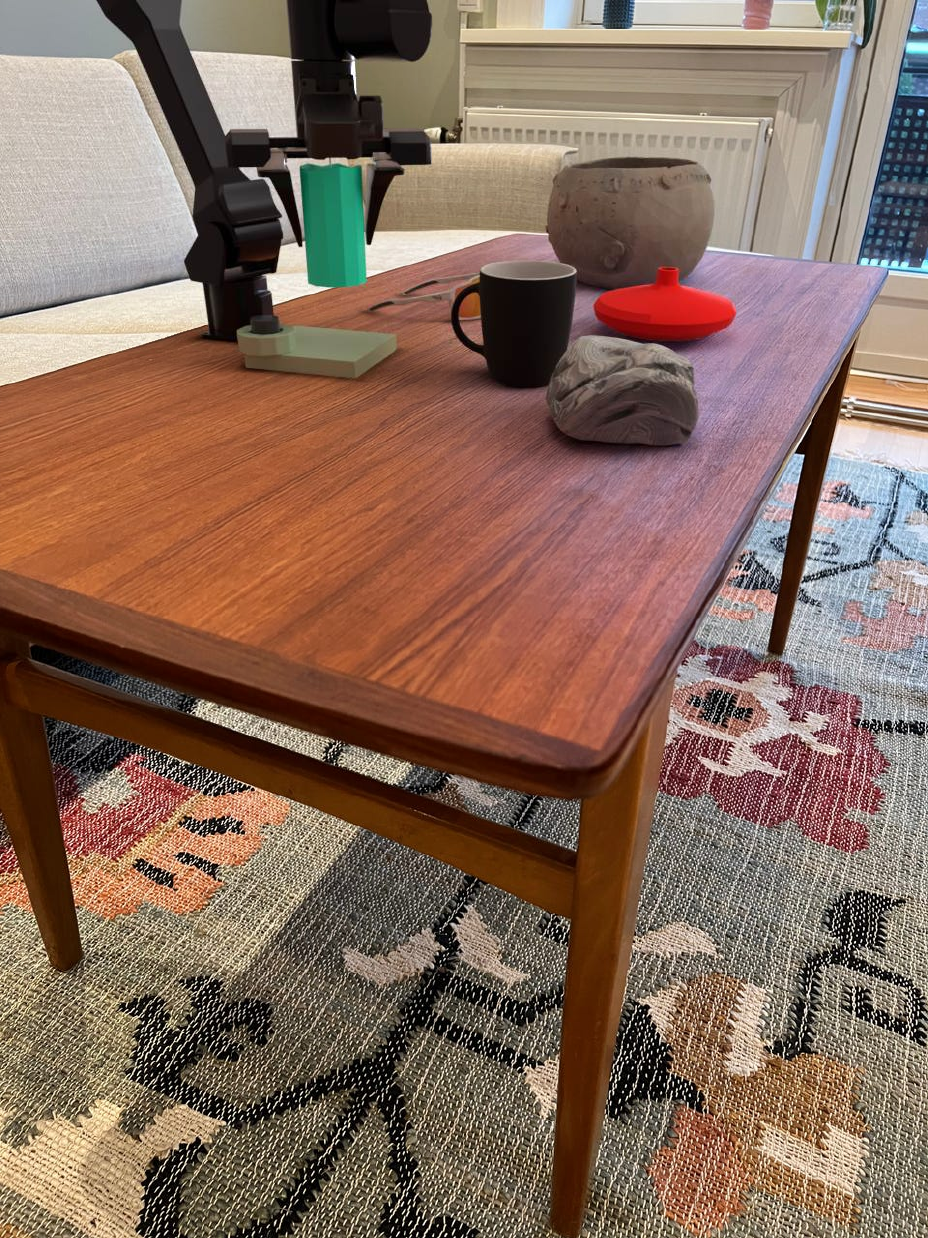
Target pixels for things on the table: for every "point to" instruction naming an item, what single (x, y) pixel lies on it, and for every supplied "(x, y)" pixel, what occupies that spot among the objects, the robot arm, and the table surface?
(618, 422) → the decorative stone
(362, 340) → the khaki base plate
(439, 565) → the table surface
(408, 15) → the robot arm
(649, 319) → the red vase
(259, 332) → the button
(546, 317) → the mug
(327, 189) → the candle
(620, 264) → the bowl
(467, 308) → the sunglasses
